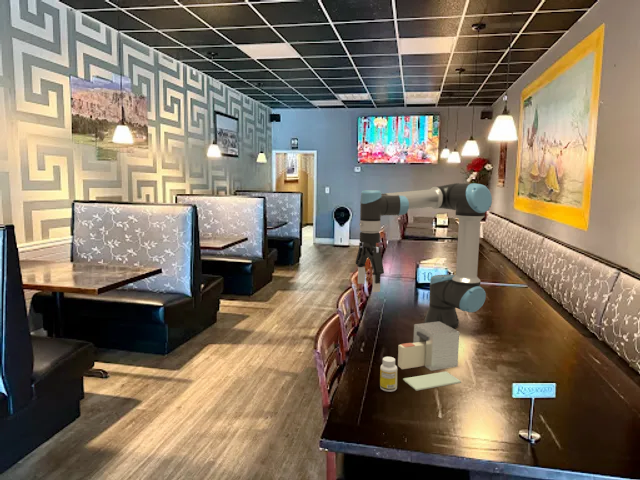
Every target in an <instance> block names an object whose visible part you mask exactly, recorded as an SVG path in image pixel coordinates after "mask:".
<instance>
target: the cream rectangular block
mask: <svg viewBox="0 0 640 480" xmlns="http://www.w3.org/2000/svg"><path fill="white" fill-rule="evenodd" d="M397 348H398V351H397V352H398V354H397V368H400V369H401V370H407V369H411V368H412V369H413V368H414V369H415V368H418V367H425V356H426V341H423V342H416V343H413V342H406V343H401V344H398V347H397Z"/></svg>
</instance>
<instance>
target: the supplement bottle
mask: <svg viewBox="0 0 640 480" xmlns="http://www.w3.org/2000/svg"><path fill="white" fill-rule="evenodd" d="M379 371H380V372H379V373H380V374H379V387H380V390H382V391H384V392H391V393H392V392H395V391H396V390H397V389H398V365H396V358H394V356H393V357H392V356H384V357H382V364H381V365H380V370H379Z"/></svg>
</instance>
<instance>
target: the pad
mask: <svg viewBox="0 0 640 480" xmlns="http://www.w3.org/2000/svg"><path fill="white" fill-rule="evenodd" d="M402 381H404V382H405V383H406V384H408V385H409V386H410V387H411V388H412V389H414V390H415V391H421V390H427V389H433V388H438V387H444V386H449V385H455V384H460V383H462V381H461V380H460V379H458V378H457V377H456V376H454V375H453V374H451V373H449V372H448V371H446V370H445V371H439V372H434V373H428V374H423V375H417V376H416V375H415V376H412V377H411V376H410V377H404V378H402Z"/></svg>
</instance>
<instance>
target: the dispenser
mask: <svg viewBox="0 0 640 480" xmlns="http://www.w3.org/2000/svg"><path fill="white" fill-rule="evenodd" d="M423 341H426V356H425V366H424V367H425V368H427V370H429V371H432V372H433V371H439V370H445V369H450V368H456V367H458V363H459V347H460V346H459V344H460V331H459V330H457V329H456V328H454V329H453V328H451V327H449V326H447V325H445V324H444V323H442V322H440V321H438V322H430V323H425V322H424V323H415V324H413V342H412V343H416V342H423Z"/></svg>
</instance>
